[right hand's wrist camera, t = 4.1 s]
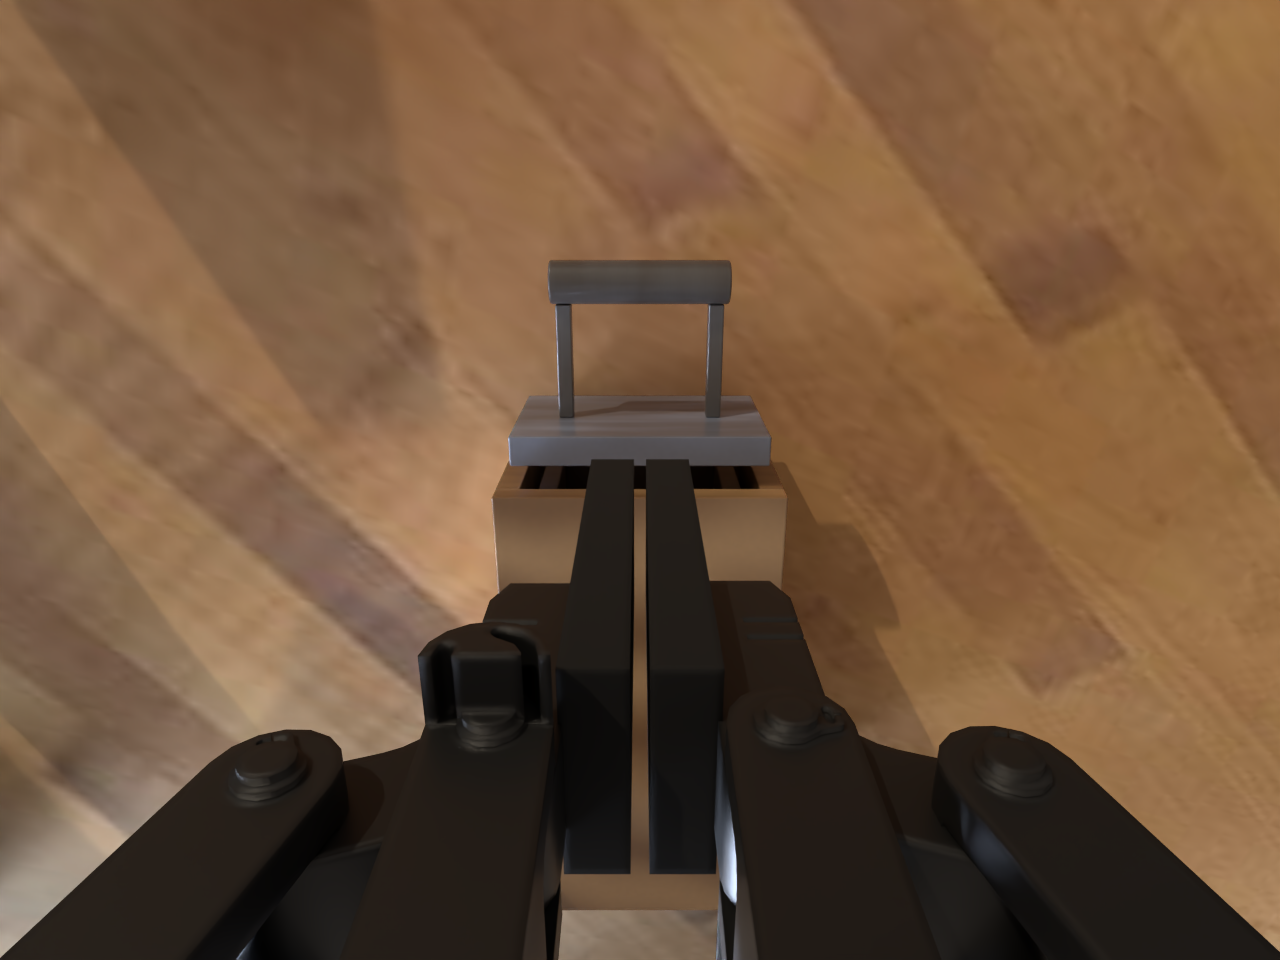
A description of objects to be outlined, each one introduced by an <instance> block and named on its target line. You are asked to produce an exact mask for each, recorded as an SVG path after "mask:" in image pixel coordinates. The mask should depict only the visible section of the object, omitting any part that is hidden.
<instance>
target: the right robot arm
mask: <svg viewBox="0 0 1280 960" xmlns="http://www.w3.org/2000/svg"><path fill="white" fill-rule="evenodd" d="M646 658H647V733H648V807H649V874H716V862H717V858H718V867H719V875H720V879H719V901H718V923H717V946H716V960H1280V952H1279V951H1278V950H1277V949H1276V948H1275V947H1274V946H1273V945H1272V944H1271V943H1269V942H1268V941H1267V940H1266V939H1265V938H1264V937H1263V936H1262V935H1261V934H1260V933H1259V932H1258V931H1256V930H1255V929H1254V928H1253V927H1252V926H1251V925H1250V924H1249V923H1248V922H1247V921H1246V920H1245V919H1244V918H1242V917H1241V916H1240V915H1239V914H1238V913H1237V912H1236V911H1235V910H1234V909H1233V908H1232V907H1231V906H1229V905H1228V904H1227V903H1226V902H1225V901H1224V900H1223V899H1222V898H1221V897H1220V896H1219V895H1218V894H1216V893H1215V892H1214V891H1213V890H1212V889H1211V888H1210V887H1209V886H1208V885H1207V884H1206V883H1205V882H1204V881H1202V880H1201V879H1200V878H1199V877H1198V876H1197V875H1196V874H1195V873H1194V872H1193V871H1192V870H1191V869H1189V868H1188V867H1187V866H1186V865H1185V864H1184V863H1183V862H1182V861H1181V860H1180V859H1179V858H1178V857H1176V856H1175V855H1174V854H1173V853H1172V852H1171V851H1170V850H1169V849H1168V848H1167V847H1166V846H1165V845H1164V844H1162V843H1161V842H1160V841H1159V840H1158V839H1157V838H1156V837H1155V836H1154V835H1153V834H1152V833H1151V832H1149V831H1148V830H1147V829H1146V828H1145V827H1144V826H1143V825H1142V824H1141V823H1140V822H1139V821H1138V820H1137V819H1135V818H1134V817H1133V816H1132V815H1131V814H1130V813H1129V812H1128V811H1127V810H1126V809H1125V808H1124V807H1122V806H1121V805H1120V804H1119V803H1118V802H1117V801H1116V800H1115V799H1114V798H1113V797H1112V796H1111V795H1109V794H1108V793H1107V792H1106V791H1105V790H1104V789H1103V788H1102V787H1101V786H1100V785H1099V784H1098V783H1097V782H1095V781H1094V780H1093V779H1092V778H1091V777H1090V776H1089V775H1088V774H1087V773H1086V772H1085V771H1084V770H1082V769H1081V768H1080V767H1079V766H1078V765H1077V764H1076V763H1075V762H1074V761H1073V760H1072V759H1070V758H1069V757H1068V756H1066V755H1065V754H1063V753H1062V752H1061V751H1059V750H1058V749H1056V748H1055V747H1054V746H1052V745H1051V744H1049V743H1047V742H1045V741H1043V740H1040V739H1038V738H1036V737H1033V736H1031V735H1029V734H1026V733H1024V732H1021V731H1016V730H1012V729H1006V728H1002V727H997V726H971V727H967V728H964V729H961V730H958V731H955V732H952V733H950V734H949V735H948V737H947V738H946V739H945V740H944V741H943V742H942V743H941V744H940V745H939V752H938V758H934V757H929V756H925V755H920V754H915V753H911V752H906V751H902V750H897V749H894V748H890V747H887V746H883V745H880V744H877V743H875V742H873V741H870V740H868V739H866V738H864V737H862V736H859V734H858V732H857V729H856V726H855V724H854V722H853V721H852V719H851V718H850V716H849V715H848V713H847V712H846V711H845V709H844V708H842V707H841V706H840V705H838V704H837V703H835V702H834V701H832V700H831V699H829V698H828V697H826V696H825V694H824V692H823V689H822V686H821V683H820V680H819V677H818V675H817V672H816V669H815V666H814V663H813V661H812V658H811V655H810V652H809V649H808V647H807V644H806V641H805V640H804V638H803V632H802V630H801V627H800V624H799V622H798V621H797V616H796V613H795V610H794V607H793V604H792V602H791V599H790V597H788V596H787V595H786V594H785V593H784V592H782V591H781V590H780V589H779V588H778V587H777V586H775V585H774V584H773V583H772V582H771V581H709V575H708V569H707V563H706V557H705V551H704V546H703V540H702V534H701V528H700V522H699V516H698V511H697V505H696V499H695V493H694V487H693V481H692V476H691V470H690V464H689V459H646ZM633 660H634V459H591V464H590V470H589V476H588V482H587V487H586V493H585V499H584V505H583V511H582V517H581V522H580V528H579V534H578V540H577V546H576V551H575V557H574V563H573V569H572V575H571V581H570V583H510V584H509V585H508V586H507V587H505V588H504V589H503V590H502V591H501V592H500V593H498V594H497V595H496V596H495V597H494V598H493V599H491V600H490V602H489V605H488V608H487V611H486V613H485V616H484V619H483V623H475V624H469V625H465V626H462V627H459V628H456V629H453V630H449V631H447V632H445V633H443V634H442V635H440V636H438V637H437V638H435V639H433V640H432V641H430V642H429V643H428V644H427V645H426V646H425V648H424V649H423V650H422V651H421V653H420V654H419V655H418V662H419V671H420V680H421V689H422V698H423V707H424V716H425V727H424V730H423V733H422V736H421V738H420V739H419V740H417V741H415V742H413V743H411V744H408V745H406V746H404V747H401V748H398V749H395V750H391V751H388V752H384V753H380V754H376V755H371V756H367V757H362V758H358V759H353V760H348V761H344V762H343V758H342V751H341V748H340V747H339V746H338V745H337V744H336V743H335V742H334V741H333V739H332V738H331V737H329V736H326V735H324V734H321V733H318V732H315V731H312V730H282V731H277V732H272V733H267V734H263V735H258V736H256V737H254V738H251V739H249V740H247V741H244V742H242V743H240V744H237V745H235V746H233V747H231V748H230V749H228V750H227V751H225V752H224V753H223V754H221V755H220V756H218V757H217V758H216V759H214V760H213V761H211V762H210V763H209V764H208V765H207V766H206V767H205V768H204V769H202V770H201V771H200V772H199V773H198V774H197V775H196V776H195V777H194V778H193V779H192V780H191V781H190V782H189V783H187V784H186V785H185V786H184V787H183V788H182V789H181V790H180V791H179V792H178V793H177V794H176V795H175V796H174V797H172V798H171V799H170V800H169V801H168V802H167V803H166V804H165V805H164V806H163V807H162V808H161V809H160V810H158V811H157V812H156V813H155V814H154V815H153V816H152V817H151V818H150V819H149V820H148V821H147V822H146V823H145V824H143V825H142V826H141V827H140V828H139V829H138V830H137V831H136V832H135V833H134V834H133V835H132V836H131V837H130V838H128V839H127V840H126V841H125V842H124V843H123V844H122V845H121V846H120V847H119V848H118V849H117V850H116V851H115V852H113V853H112V854H111V855H110V856H109V857H108V858H107V859H106V860H105V861H104V862H103V863H102V864H101V865H99V866H98V867H97V868H96V869H95V870H94V871H93V872H92V873H91V874H90V875H89V876H88V877H87V878H86V879H84V880H83V881H82V882H81V883H80V884H79V885H78V886H77V887H76V888H75V889H74V890H73V891H72V892H71V893H69V894H68V895H67V896H66V897H65V898H64V899H63V900H62V901H61V902H60V903H59V904H58V905H57V906H56V907H54V908H53V909H52V910H51V911H50V912H49V913H48V914H47V915H46V916H45V917H44V918H43V919H42V920H41V921H39V922H38V923H37V924H36V925H35V926H34V927H33V928H32V929H31V930H30V931H29V932H28V933H27V934H25V935H24V936H23V937H22V938H21V939H20V940H19V941H18V942H17V943H16V944H15V945H14V946H13V947H12V948H10V949H9V950H8V951H7V952H6V953H5V954H4V955H3V956H2V957H1V958H0V960H558V956H559V944H560V933H561V922H562V901H561V871H562V862H564V874H631V808H632V734H633Z"/></svg>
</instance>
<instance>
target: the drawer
mask: <svg viewBox="0 0 1280 960" xmlns="http://www.w3.org/2000/svg"><path fill="white" fill-rule="evenodd" d="M731 287H732V269H731V263H730V261H729V260H551V261H549V265H548V293H549V300H550V303H551V304H556V306H555V310H556V338H557V366H558V394H559V396H529V398H528V400H527V402H526V404H525V406H524V408H523V409H522V411H521V413H520V415H519V417H518V419H517V421H516V423H515V425H514V427H513V429H512V431H511V433H510V435H509V437H508V442H509V459H510V466H546V468H545V471H544V474H543V477H542V480H541V483H540V486H539V489H586V487H587V482H588V476H589V470H590V464H591V459H634V489H646V459H689V464H690V470H691V476H692V481H693V487H694V489H741V488H740V485H739V481H738V478H737V475H736V472H735V469H734V466H769V465H770V453H771V436H770V434H769V432H768V430H767V428H766V426H765V424H764V422H763V420H762V418H761V416H760V414H759V412H758V410H757V408H756V406H755V404H754V402H753V400H752V398H751V396H721V383H722V355H723V327H724V305H723V304H728V303H729V302H730V298H731ZM572 304H708V320H707V355H706V389H705V396H574V368H573V334H572Z"/></svg>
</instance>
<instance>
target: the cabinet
mask: <svg viewBox="0 0 1280 960" xmlns="http://www.w3.org/2000/svg"><path fill="white" fill-rule="evenodd" d="M545 468H546V466H510V459H509V462H508V464H507V466H506V468H505V470H504V472H503V475H502V477H501V479H500V481H499V483H498V485H497V488H496V490H495V492H494V494H493V497H492V512H493V526H494V541H495V556H496V570H497V585H498V593H500V592H501V591H502V590H503V589H504V588H505V587H507V586H508V585H509V584H510V583H570V581H571V575H572V569H573V563H574V557H575V551H576V546H577V540H578V534H579V528H580V522H581V517H582V511H583V505H584V499H585V493H586V489H539V486H540V483H541V480H542V477H543V474H544V471H545ZM734 469H735V472H736V475H737V478H738V481H739V485H740V488H741V489H694V493H695V499H696V505H697V511H698V516H699V522H700V528H701V534H702V540H703V546H704V551H705V557H706V563H707V569H708V575H709V581H771V582H772V583H773V584H774V585H775V586H777V587H778V588H779V589H780V590H781V591H782V579H783V565H784V550H785V535H786V521H787V506H788V497H787V495H786V493H785V491H784V488H783V486H782V484H781V482H780V480H779V477H778V475H777V473H776V471H775V469H774V467H773V464H772V462H771V460H770V465H769V466H734ZM719 879H720V875H719V867H718V858H717V862H716V874H649V807H648V733H647V658H646V489H634V660H633V734H632V808H631V874H564V862H562V871H561V901H562V910H718V901H719Z"/></svg>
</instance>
